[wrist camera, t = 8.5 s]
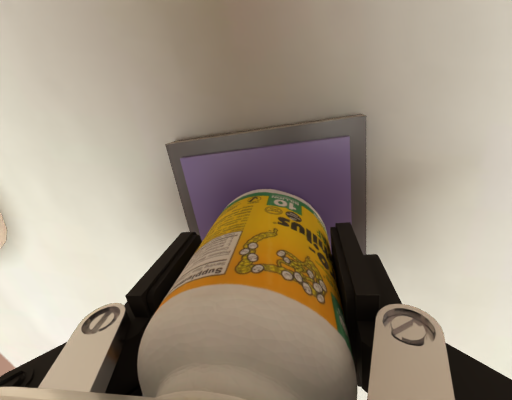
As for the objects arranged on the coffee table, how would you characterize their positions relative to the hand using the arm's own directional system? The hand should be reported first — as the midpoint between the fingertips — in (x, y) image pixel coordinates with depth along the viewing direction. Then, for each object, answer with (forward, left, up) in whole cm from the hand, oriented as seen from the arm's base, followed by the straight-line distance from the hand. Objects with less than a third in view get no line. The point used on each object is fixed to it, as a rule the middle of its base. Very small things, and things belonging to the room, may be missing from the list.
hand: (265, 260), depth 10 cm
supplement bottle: (0, 0, -2) cm, 2 cm away
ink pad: (0, 0, -3) cm, 3 cm away
